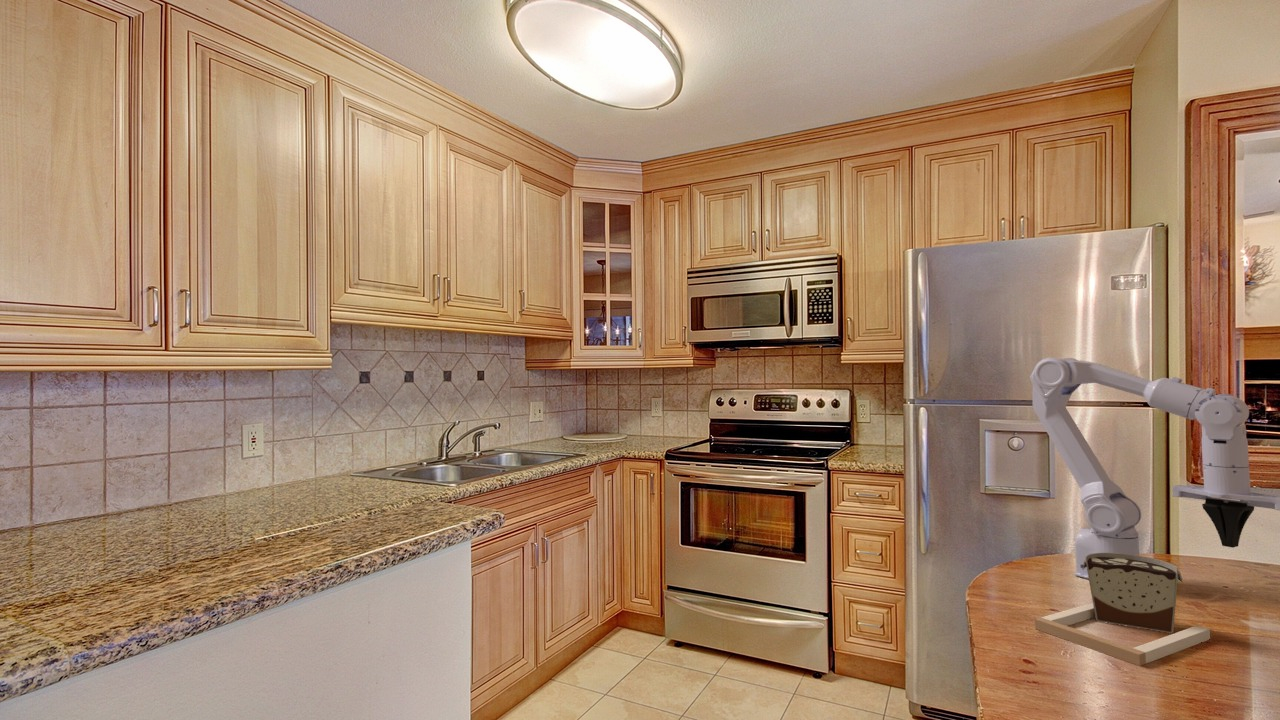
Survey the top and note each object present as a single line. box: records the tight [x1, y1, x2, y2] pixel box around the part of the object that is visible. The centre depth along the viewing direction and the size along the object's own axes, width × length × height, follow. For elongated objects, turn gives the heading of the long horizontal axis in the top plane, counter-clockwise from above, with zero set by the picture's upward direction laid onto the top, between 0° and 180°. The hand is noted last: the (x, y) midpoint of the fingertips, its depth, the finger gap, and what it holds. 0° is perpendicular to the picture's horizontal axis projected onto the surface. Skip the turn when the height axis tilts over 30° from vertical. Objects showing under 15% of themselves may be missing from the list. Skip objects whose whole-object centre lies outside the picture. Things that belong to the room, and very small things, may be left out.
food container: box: [1082, 553, 1184, 634], centre depth 97 cm, size 12×6×10 cm, turn 55°
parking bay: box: [1034, 602, 1211, 667], centre depth 92 cm, size 14×18×2 cm
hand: (1230, 546), depth 103 cm, fingers closed
